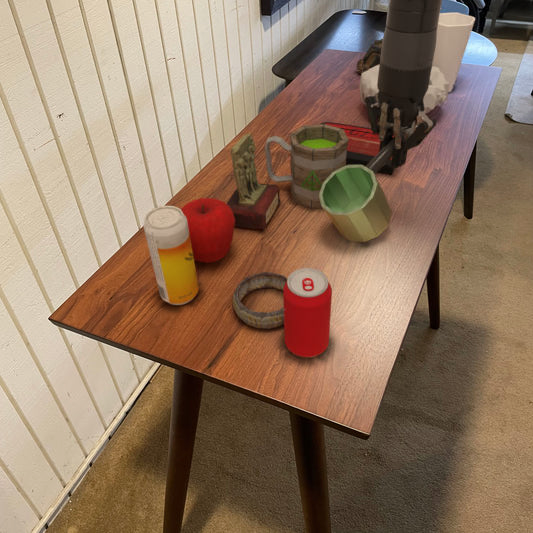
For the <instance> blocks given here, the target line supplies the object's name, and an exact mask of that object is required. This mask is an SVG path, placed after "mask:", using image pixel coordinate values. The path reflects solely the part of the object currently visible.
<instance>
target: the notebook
mask: <svg viewBox="0 0 533 533" xmlns="http://www.w3.org/2000/svg"><path fill="white" fill-rule="evenodd" d="M320 124H327V125H330V126H333V127H336V128H340V129H343V130H344V132H345V134H346V136H347V138H348V140H349V141H348V146H347V152H346V165H363V166H365V167H366V166H367V164H368V163H369V162H370V161H371V160H372V159H373V158H374V157H375V156H376V155H377V154H378V153H379V148H380V139H379V135H378V134H377V133H373V132H372V130H371V127H366V126H365V127H364V126H359V125H352V124H346V123H341V122H340V123H339V122H333V121H332V122H331V121H324V122H323V121H322V122H321V123H320ZM394 136H395V135H394ZM394 136H393V137H394ZM393 137H392V138H393ZM391 163H392V158H391V159H390V160H388V161H387V162H386V163H385V164H384V165H383V166H382V167H381V169H380V170H379V171H378V172H377V173H383V174H387V175H392V174H393V173H394V170H395V168H393V167H391Z"/></svg>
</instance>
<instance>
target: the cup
mask: <svg viewBox="0 0 533 533" xmlns="http://www.w3.org/2000/svg"><path fill="white" fill-rule="evenodd" d="M475 22H476V17H474V16H472V15H468V14H464V13H461V12H440V15H439V21H438V26H437V39H436V48H435V53H434V59H433V64H432V67H439V69H440V71H441V72H442V73H443V74H444V77H445V80H446V81H447V82H448V83H449V89H448V93H451V92H452V91H453V89H454V87H455V83H456V80H457V77H458V75H459V74H458V73H459V71H460V68H461V64H462V61H463V58H464V56H465V52H466V49H467V46H468V43H469V40H470V37H471V34H472V30H473V27H474V25H475ZM453 85H454V86H453Z"/></svg>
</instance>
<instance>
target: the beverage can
mask: <svg viewBox="0 0 533 533" xmlns="http://www.w3.org/2000/svg"><path fill="white" fill-rule="evenodd" d="M287 278H288V279H287V282H286V283H285V285H284V289H283V291H282V293H283V294H282V295H283V298H282V299H283V307H284V324H283V330H284V344H285V347H286V348H287V349H288V350H289V352H291V353H293V355H296V356H298V357H303V358H312V357H316V356H319V355H321V354H322V353H323V352H325V351H326V349H327V348H328V346H329V343H330V333H331V332H330V330H331V315H332V314H331V313H332V300H333V299H332V297H333V288H332V285H331V283H330V281H329V278H328V276H327V274H326V273H325V272H323V271H321V270H319V269H318V268H315V267H314V268H313V267H301V268H297V269H295V270H294V271H292V272H291V273H290V274H289V275H288V276H287Z"/></svg>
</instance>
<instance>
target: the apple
mask: <svg viewBox="0 0 533 533" xmlns="http://www.w3.org/2000/svg"><path fill="white" fill-rule="evenodd" d="M180 209H181V210H182V212H183V214H184V215H185V216H186V218H187V223H188V228H189V234H190V240H191V246H192V251H193V257H194V261H197V262H201V263H205V264H212V263H215V262H218V261H220V260H221V259H223V258H224V257H226V256H227V254H228V253H229V252H230V248H231V246H232V242H233V238H234V232H235V227H236V226H235V218H234V215H233V212H232V210H231V208H230V206H229V205H228V204H227V202H224V201H223V200H220V199H217V198H212V197H200V198H196V199H193V200H190V201H189V202H187V203H186V204H184V205H183V206H182V207H181V208H180Z"/></svg>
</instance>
